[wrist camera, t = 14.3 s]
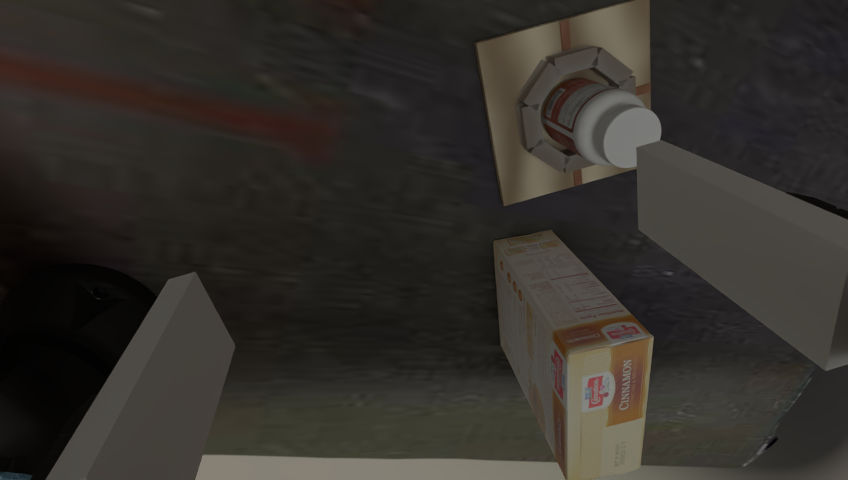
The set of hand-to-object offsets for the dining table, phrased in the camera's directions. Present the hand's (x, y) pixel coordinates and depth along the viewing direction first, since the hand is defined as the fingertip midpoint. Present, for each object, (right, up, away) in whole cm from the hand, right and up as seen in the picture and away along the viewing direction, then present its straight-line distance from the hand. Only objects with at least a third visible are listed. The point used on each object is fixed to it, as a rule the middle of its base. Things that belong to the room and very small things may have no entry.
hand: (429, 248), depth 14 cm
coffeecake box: (+12, -6, +42) cm, 44 cm away
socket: (+14, +13, +33) cm, 38 cm away
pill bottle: (+14, +13, +32) cm, 37 cm away
